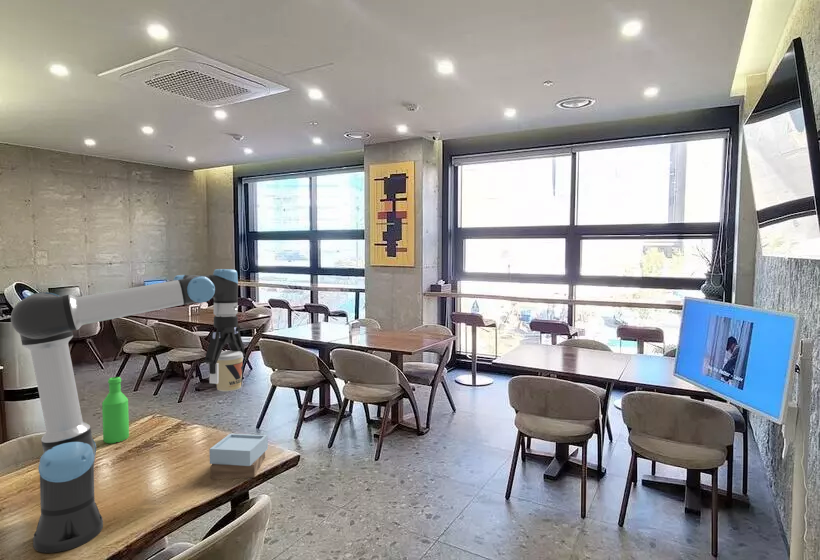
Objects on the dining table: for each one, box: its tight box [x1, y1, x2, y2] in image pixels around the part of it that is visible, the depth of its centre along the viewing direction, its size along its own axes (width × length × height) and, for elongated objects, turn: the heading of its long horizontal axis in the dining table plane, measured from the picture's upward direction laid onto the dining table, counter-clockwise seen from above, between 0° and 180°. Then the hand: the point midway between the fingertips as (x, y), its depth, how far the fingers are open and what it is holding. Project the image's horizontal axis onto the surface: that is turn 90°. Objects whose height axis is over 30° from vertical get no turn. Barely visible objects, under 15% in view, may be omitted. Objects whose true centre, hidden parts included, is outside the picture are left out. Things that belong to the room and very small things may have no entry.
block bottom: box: [210, 451, 266, 480], centre depth 163 cm, size 14×14×5 cm
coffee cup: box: [216, 350, 244, 393], centre depth 162 cm, size 9×9×12 cm
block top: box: [208, 432, 269, 466], centre depth 163 cm, size 14×14×5 cm
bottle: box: [101, 376, 130, 444], centre depth 188 cm, size 9×9×25 cm
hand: (225, 378), depth 160 cm, fingers open, 13 cm apart
